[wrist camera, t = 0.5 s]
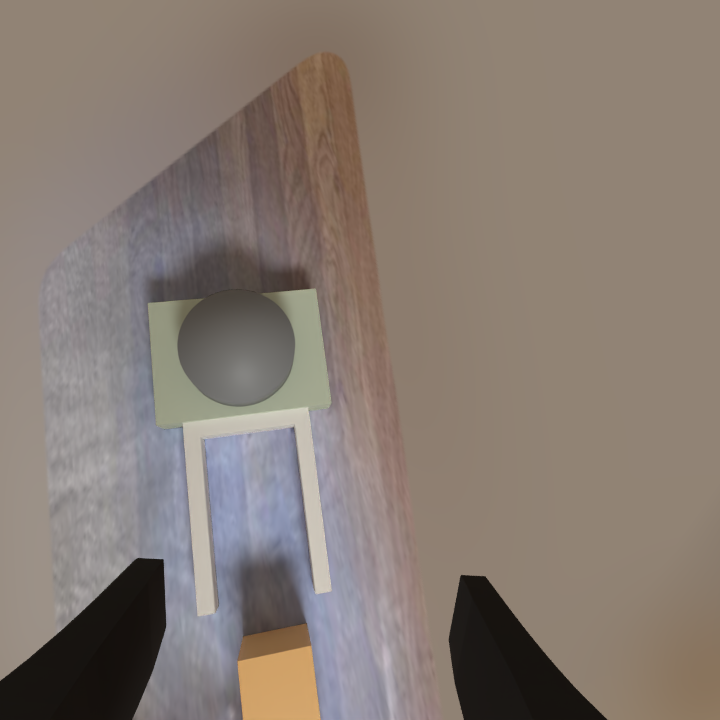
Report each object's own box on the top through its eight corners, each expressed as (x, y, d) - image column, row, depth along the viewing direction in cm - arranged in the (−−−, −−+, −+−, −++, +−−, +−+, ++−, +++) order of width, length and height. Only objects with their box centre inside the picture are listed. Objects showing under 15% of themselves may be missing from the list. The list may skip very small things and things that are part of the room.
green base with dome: (351, 581, 35) (362, 596, 30) (177, 613, 33) (160, 635, 28) (313, 300, 39) (318, 274, 34) (156, 314, 37) (137, 289, 32)
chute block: (323, 762, 33) (332, 810, 28) (257, 778, 32) (254, 831, 27) (306, 622, 34) (311, 645, 29) (243, 635, 33) (237, 661, 29)
